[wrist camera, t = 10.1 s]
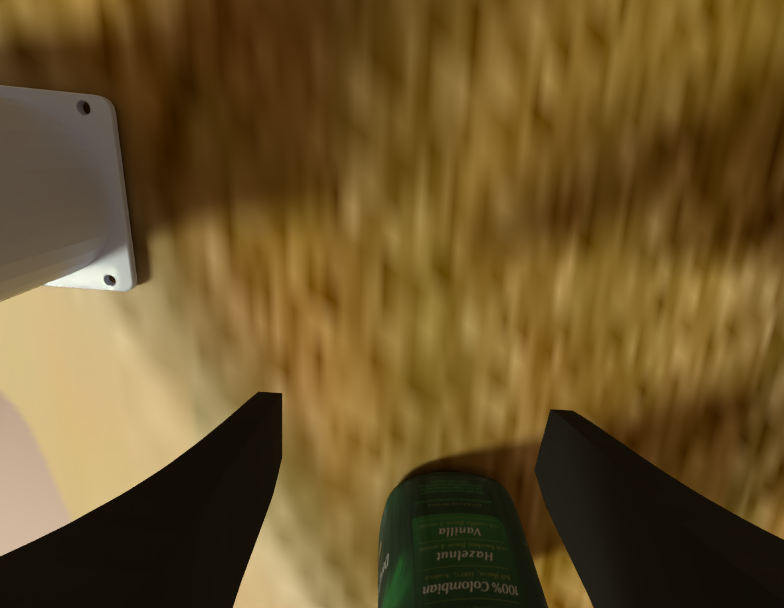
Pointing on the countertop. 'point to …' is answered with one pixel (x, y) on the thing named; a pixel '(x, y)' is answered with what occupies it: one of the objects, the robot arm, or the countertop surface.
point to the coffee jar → (454, 546)
